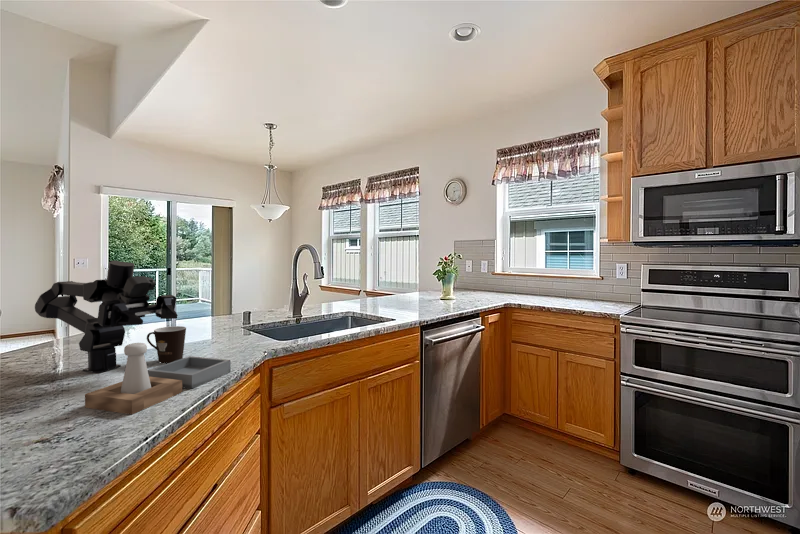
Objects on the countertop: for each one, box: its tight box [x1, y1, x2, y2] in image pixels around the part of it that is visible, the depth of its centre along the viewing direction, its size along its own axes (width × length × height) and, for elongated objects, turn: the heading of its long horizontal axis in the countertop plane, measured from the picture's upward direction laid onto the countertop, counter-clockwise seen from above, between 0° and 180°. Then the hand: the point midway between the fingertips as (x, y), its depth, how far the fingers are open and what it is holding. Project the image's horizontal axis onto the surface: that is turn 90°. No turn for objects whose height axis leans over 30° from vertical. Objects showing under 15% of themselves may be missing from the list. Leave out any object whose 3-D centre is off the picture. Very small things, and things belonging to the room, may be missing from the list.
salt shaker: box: [121, 342, 151, 394], centre depth 87 cm, size 6×6×13 cm
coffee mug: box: [146, 325, 187, 364], centre depth 119 cm, size 12×9×10 cm
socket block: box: [84, 377, 183, 415], centre depth 87 cm, size 13×13×3 cm
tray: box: [147, 355, 232, 390], centre depth 102 cm, size 14×14×4 cm
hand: (160, 319), depth 98 cm, fingers open, 9 cm apart
